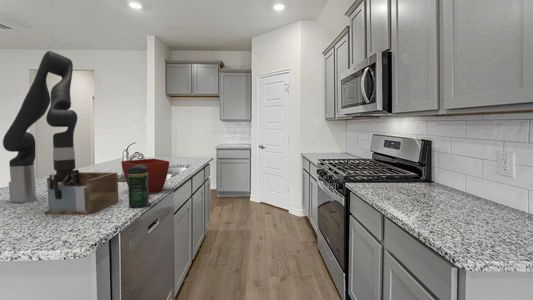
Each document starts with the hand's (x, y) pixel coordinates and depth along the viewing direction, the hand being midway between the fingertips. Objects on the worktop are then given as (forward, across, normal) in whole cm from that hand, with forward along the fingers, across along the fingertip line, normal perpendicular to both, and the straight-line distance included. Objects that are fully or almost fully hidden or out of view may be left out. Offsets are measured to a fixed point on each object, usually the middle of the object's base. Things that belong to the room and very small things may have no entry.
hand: (66, 196), depth 128 cm
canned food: (+7, -24, +20) cm, 32 cm away
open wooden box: (+7, -8, +1) cm, 11 cm away
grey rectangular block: (+6, 0, +1) cm, 6 cm away
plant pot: (+7, -41, +16) cm, 44 cm away
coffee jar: (+7, -12, +25) cm, 29 cm away
